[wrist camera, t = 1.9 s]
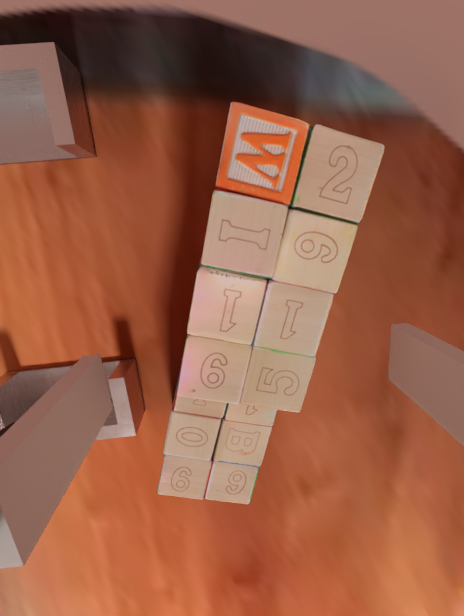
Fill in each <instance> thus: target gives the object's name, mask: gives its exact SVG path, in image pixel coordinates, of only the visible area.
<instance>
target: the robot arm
mask: <svg viewBox="0 0 464 616" xmlns="http://www.w3.org/2000/svg"><path fill="white" fill-rule="evenodd" d="M388 379H389V380H390V381H391V382H392V383H393V384H394V385H395V386H397V387H398V388H399V389H400V390H401V391H402V392H403V393H404V394H405V395H407V396H408V397H409V398H410V399H411V400H412V401H413V402H414V403H416V404H417V405H418V406H419V407H420V408H421V409H422V410H423V411H425V412H426V413H427V414H428V415H429V416H430V417H431V418H432V419H433V420H435V421H436V422H437V423H438V424H439V425H440V426H441V427H442V428H444V429H445V430H446V431H447V432H448V433H449V434H450V435H451V436H453V437H454V438H455V439H456V440H457V441H458V442H459V443H460V444H462V445H463V446H464V351H462V350H460V349H458V348H456V347H454V346H452V345H450V344H448V343H446V342H444V341H442V340H440V339H438V338H436V337H435V336H433V335H431V334H429V333H427V332H425V331H423V330H421V329H419V328H417V327H415V326H413V325H411V324H409V323H403V324H393V325H391V339H390V355H389V370H388ZM112 409H113V407H112V403H111V399H110V394H109V390H108V386H107V381H106V377H105V373H104V368H103V364H102V359H101V355H90V356H83V357H82V358H81V359H80V360H79V361H78V362H77V363H75V364H74V365H73V366H72V367H71V368H70V369H69V370H68V371H67V372H66V373H65V374H64V375H63V376H62V377H61V378H60V379H59V380H58V381H57V382H56V383H55V384H54V385H53V386H52V387H51V388H50V389H49V390H48V391H47V392H46V393H45V394H44V395H43V396H42V397H41V398H40V399H39V400H38V401H37V402H36V403H35V404H34V405H33V406H32V407H31V408H30V409H29V410H28V411H27V412H26V413H25V414H24V415H23V416H22V417H20V418H19V419H18V420H17V421H16V422H12V423H11V424H9V425H8V426H6V427H5V428H3V429H1V430H0V569H2V568H11V567H19V566H24V565H25V563H26V561H27V559H28V557H29V556H30V554H31V552H32V550H33V549H34V547H35V545H36V543H37V542H38V540H39V538H40V536H41V534H42V533H43V531H44V529H45V527H46V526H47V524H48V522H49V520H50V519H51V517H52V515H53V513H54V511H55V510H56V508H57V506H58V504H59V503H60V501H61V499H62V497H63V495H64V494H65V492H66V490H67V488H68V487H69V485H70V483H71V481H72V480H73V478H74V476H75V474H76V472H77V471H78V469H79V467H80V465H81V464H82V462H83V460H84V458H85V457H86V455H87V453H88V451H89V449H90V448H91V446H92V444H93V442H94V441H95V439H96V437H97V435H98V434H99V432H100V430H101V428H102V426H103V425H104V423H105V421H106V419H107V418H108V416H109V414H110V412H111V411H112Z"/></svg>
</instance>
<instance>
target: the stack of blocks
mask: <svg viewBox="0 0 464 616" xmlns="http://www.w3.org/2000/svg"><path fill="white" fill-rule="evenodd" d="M384 147H385V146H384V145H383V144H381V143H377V142H373V141H370V140H367V139H363V138H360V137H357V136H354V135H350V134H347V133H344V132H340V131H337V130H334V129H331V128H328V127H325V126H322V125H318V124H316V125H314V126H312V127H310V126H309V124H308V123H306V122H304V121H302V120H299V119H296V118H292V117H289V116H285V115H282V114H279V113H275V112H272V111H268V110H265V109H261V108H257V107H254V106H250V105H247V104H243V103H238V102H231V105H230V109H229V114H228V120H227V125H226V131H225V136H224V142H223V147H222V152H221V157H220V163H219V168H218V173H217V178H216V186H215V190H214V191H213V194H212V200H211V206H210V212H209V218H208V224H207V230H206V235H205V241H204V247H203V253H202V257H201V259H200V264H199V267H198V270H197V273H196V279H195V284H194V292H193V297H192V303H191V308H190V314H189V320H188V326H187V337H186V342H185V347H184V353H183V357H182V362H181V367H180V372H179V377H178V381H177V386H176V391H175V397H174V401H173V405H172V409H171V413H170V418H169V422H168V427H167V432H166V437H165V443H164V448H163V458H164V460H163V465H162V470H161V475H160V480H159V485H158V490H157V494H161V495H169V496H178V497H186V498H193V499H203V498H206V499H209V500H217V501H225V502H233V503H242V504H249V503H250V500H251V496H252V493H253V489H254V485H255V482H256V479H257V475H258V471H259V466H261V464H262V461H263V457H264V454H265V450H266V447H267V443H268V439H269V436H270V433H271V429H272V425H273V423H274V420H275V417H276V413H277V410H283V411H288V412H293V413H299V412H300V410H301V407H302V404H303V401H304V397H305V394H306V391H307V387H308V384H309V381H310V378H311V375H312V371H313V368H314V365H315V361H316V357H315V356H316V353H317V350H318V347H319V344H320V341H321V338H322V335H323V331H324V328H325V324H326V321H327V318H328V315H329V312H330V309H331V305H332V302H333V296H334V294H335V293H337V291H338V288H339V285H340V282H341V279H342V276H343V273H344V270H345V267H346V264H347V261H348V257H349V254H350V251H351V248H352V245H353V242H354V238H355V235H356V232H357V224H358V223H359V222H360V220H361V219H362V217H363V214H364V211H365V208H366V205H367V202H368V199H369V196H370V193H371V190H372V187H373V184H374V181H375V178H376V175H377V172H378V169H379V166H380V163H381V160H382V157H383V153H384Z"/></svg>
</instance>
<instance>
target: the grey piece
mask: <svg viewBox="0 0 464 616" xmlns="http://www.w3.org/2000/svg"><path fill="white" fill-rule="evenodd" d="M102 364H103V368H104V373H105V377H106V381H107V386H108V390H109V394H110V399H111V403H112V407H113V409H112V411H111V412H110V414H109V416H108V418H107V419H106V421H105V423H104V425H103V426H102V428H101V430H100V432H99V434H98V435H97V437H96V439H95V440H102V439H111V438H119V437H127V436H136V434H137V431H138V428H139V426H140V423H141V420H142V417H143V415H144V412H145V405H144V400H143V395H142V390H141V385H140V379H139V374H138V369H137V364H136V359H135V358H131V359H121V360H112V361H103V362H102ZM72 366H73V365H66V366H57V367H48V368H39V369H29V370H20V371H11V372H7V373H5V374H4V375H2V376H1V377H0V430H1V429H3V428H5V427H6V426H8V425H9V424H11V423H12V422H16V421H17V420H18V419H19V418H20V417H22V416H23V415H24V414H25V413H26V412H27V411H28V410H29V409H30V408H31V407H32V406H33V405H34V404H35V403H36V402H37V401H38V400H39V399H40V398H41V397H42V396H43V395H44V394H45V393H46V392H47V391H48V390H49V389H50V388H51V387H52V386H53V385H54V384H55V383H56V382H57V381H58V380H59V379H60V378H61V377H62V376H63V375H64V374H65V373H66V372H67V371H68V370H69V369H70V368H71V367H72Z"/></svg>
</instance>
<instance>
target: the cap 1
mask: <svg viewBox="0 0 464 616" xmlns="http://www.w3.org/2000/svg"><path fill="white" fill-rule="evenodd" d="M90 157H97V156H96V151H95V146H94V140H93V135H92V130H91V125H90V120H89V114H88V109H87V104H86V99H85V94H84V88H83V83H82V78H81V73H80V72H79V71H78V70H77V68H76V67H75V66H74V65H73V64H72V63H71V61H70V60H69V59H68V58H67V57H66V55H65V54H64V53H63V52H62V51H61V50H60V48H59V47H58V46H57V45H56V44H55V43H54V42H47V43H31V44H16V45H1V46H0V165H4V164H16V163H29V162H41V161H53V160H66V159H78V158H90Z"/></svg>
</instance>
